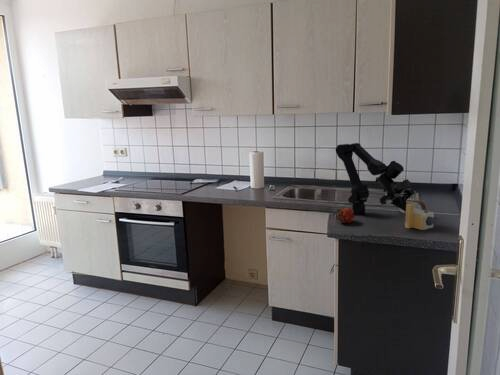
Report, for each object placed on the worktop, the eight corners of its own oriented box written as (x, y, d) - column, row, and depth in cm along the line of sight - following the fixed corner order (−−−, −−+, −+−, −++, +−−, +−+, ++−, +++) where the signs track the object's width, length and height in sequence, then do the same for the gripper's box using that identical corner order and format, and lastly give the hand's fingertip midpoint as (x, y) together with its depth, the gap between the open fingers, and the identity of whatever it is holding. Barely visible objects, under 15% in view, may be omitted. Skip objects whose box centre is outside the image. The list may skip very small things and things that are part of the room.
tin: (425, 217, 196) (426, 200, 194) (422, 218, 194) (423, 201, 192) (399, 211, 208) (400, 196, 206) (396, 212, 206) (396, 197, 204)
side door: (405, 227, 179) (406, 204, 177) (410, 226, 181) (411, 203, 179) (418, 231, 173) (419, 207, 171) (423, 229, 175) (425, 206, 173)
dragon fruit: (337, 228, 188) (349, 226, 197) (350, 220, 183) (362, 218, 192) (329, 213, 191) (341, 211, 200) (342, 204, 186) (354, 203, 194)
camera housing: (404, 224, 184) (405, 209, 183) (414, 222, 188) (415, 207, 186) (425, 230, 175) (426, 214, 173) (435, 227, 178) (436, 211, 177)
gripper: (385, 176, 176) (404, 204, 168) (412, 172, 185) (431, 198, 178) (371, 190, 184) (389, 218, 177) (398, 185, 193) (416, 211, 186)
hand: (407, 211), depth 179 cm, fingers closed, pressing on side door
